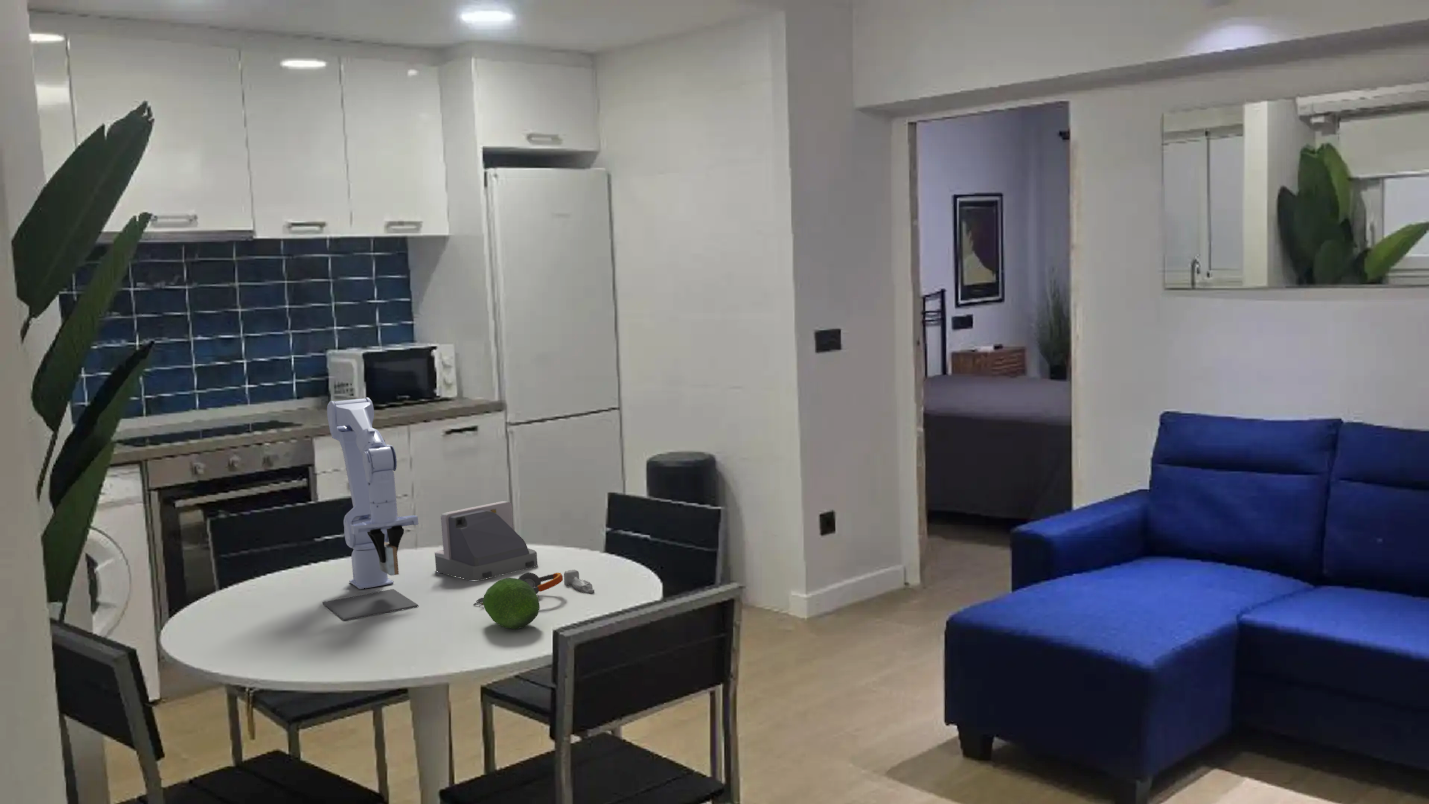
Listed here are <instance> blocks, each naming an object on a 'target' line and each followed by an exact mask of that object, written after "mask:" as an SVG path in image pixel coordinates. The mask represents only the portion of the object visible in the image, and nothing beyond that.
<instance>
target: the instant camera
mask: <svg viewBox="0 0 1429 804" xmlns="http://www.w3.org/2000/svg"><path fill="white" fill-rule="evenodd" d="M513 514H514V513H513V504H512V502H510V501H506V500H501V501H497V502H491V503H487V504H481V505H476V506H472V507H466V508H461V509H458V510H457V509H456V510H451V511H447V512H443V513H441V516H440V523H441V525H440V526H441V534H442V535H441V536H442V537H441V538H442V549H441V550H437V551H434V560H435V571H438V572H441V573H440V574H442V573H443V575H446V574H449V575H448V576H450V575H452V576H451V577H454V576H456V577H455V578H458V577H461V578H460V579H462V578H464V579H463V580H465V579H467V580H466V581H469V580H479V581H484V580H487V579H486V578H488V579H490V578H489V577H492V578H495V576H496V577H499V575H500V576H503V575H502V574H504V575H507V574H511V572H512V573H515V571H516V572H519V571H520V572H521V571H523V569H524V570H527V569H526V568H528V569H530V568H531V567H532V568H535V567H537V566H538V553H537V551H536V550H534V549H531V548H528V545H527V543H526V542H525V539H524V538H523V537H522V536H520V534H518V532H516V531H515V530H514V529H515V528H514V516H513ZM536 565H537V566H536ZM534 566H535V567H534ZM438 572H437V573H438ZM483 579H484V580H483Z"/></svg>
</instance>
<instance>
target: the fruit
mask: <svg viewBox="0 0 1429 804" xmlns="http://www.w3.org/2000/svg"><path fill="white" fill-rule="evenodd" d="M483 595H484V596H483V597H484V599H483V605H482V606H483V608H484V610H485V611H486V613H487V615H488V616H489V618H491V620H492V621H493V623H496V624H497V625H499V626H500V627H502V628H505V629H511V630H512V629H513V630H518V629H522V628H524V627H526V626H528V625H529V624H531V623H532V622H533V621H534V620H536V618H537V616H538V615H539V612H540V608H541V606H540V599H539V596H538V593H537V594H536V593H535V591H534V589H533V588H532V587H531V586H530V585H529V584H528V583H527V582H524V581H522V580H519V579H518V578H515V577H506V578H501V579H499V580H497V581H496V582H494V583H493V584H492V585H491V586H489V587H488V588H487V590H486V591H485V593H484V594H483Z"/></svg>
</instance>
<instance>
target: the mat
mask: <svg viewBox="0 0 1429 804" xmlns="http://www.w3.org/2000/svg"><path fill="white" fill-rule="evenodd" d="M322 604H323V605H324V606H325V607H326V608H327V609H329V610H330V611H331V612H332V613H334V614H335V615H336V616H338V617H339V618H340V619H341V620H342V621H344V622H346V621H351V620H355V619H360V618H361V619H362V618H366V617H372V616H378V615H383V614H387V613H388V614H389V613H392V612H397V611H398V610H399V611H403V610H402V609H404V610H408V609H413V607H414V608H418V607H419V604H418V603H416V602H415V601H413V600H411V599H410V598H408V597H407V596H405V595H403V594H402V593H401V592H399V591H397V590H396V589H394V588H390V589H385V590H380V591H379V590H378V591H375V592H369V593H364V594H363V593H362V594H358V595H353V596H347V597H342V598H336V599H335V598H334V599H331V600H325V601H322ZM417 606H418V607H417Z"/></svg>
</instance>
